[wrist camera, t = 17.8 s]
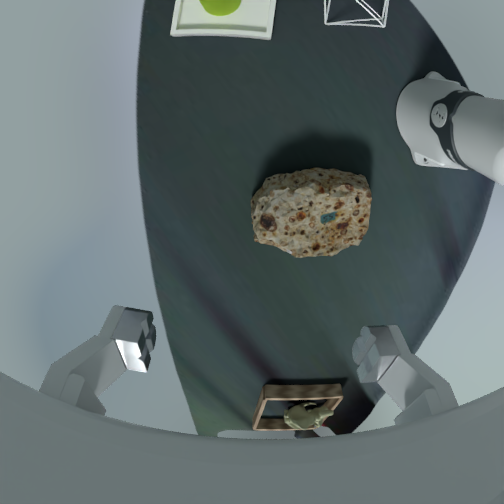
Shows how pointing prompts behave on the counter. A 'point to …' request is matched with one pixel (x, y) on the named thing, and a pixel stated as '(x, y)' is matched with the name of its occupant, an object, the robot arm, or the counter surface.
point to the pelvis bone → (305, 416)
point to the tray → (224, 20)
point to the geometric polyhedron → (359, 19)
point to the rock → (312, 211)
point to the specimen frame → (294, 393)
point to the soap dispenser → (220, 6)
